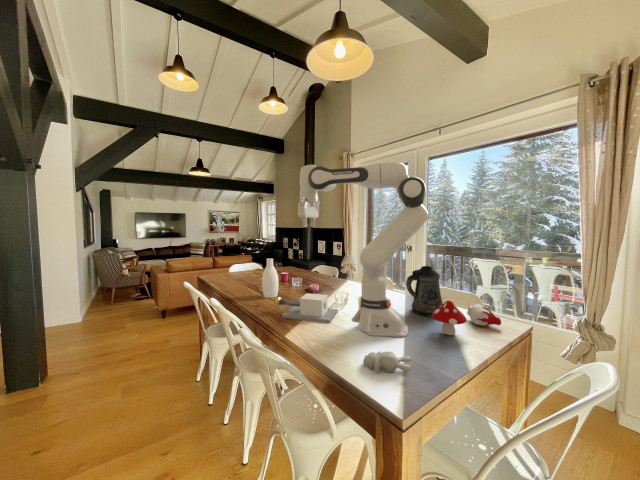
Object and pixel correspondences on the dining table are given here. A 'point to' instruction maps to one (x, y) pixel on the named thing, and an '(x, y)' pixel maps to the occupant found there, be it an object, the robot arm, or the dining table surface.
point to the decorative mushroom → (449, 317)
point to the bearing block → (312, 309)
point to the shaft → (286, 302)
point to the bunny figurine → (386, 362)
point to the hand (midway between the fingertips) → (308, 227)
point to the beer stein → (425, 291)
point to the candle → (482, 315)
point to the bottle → (270, 280)
